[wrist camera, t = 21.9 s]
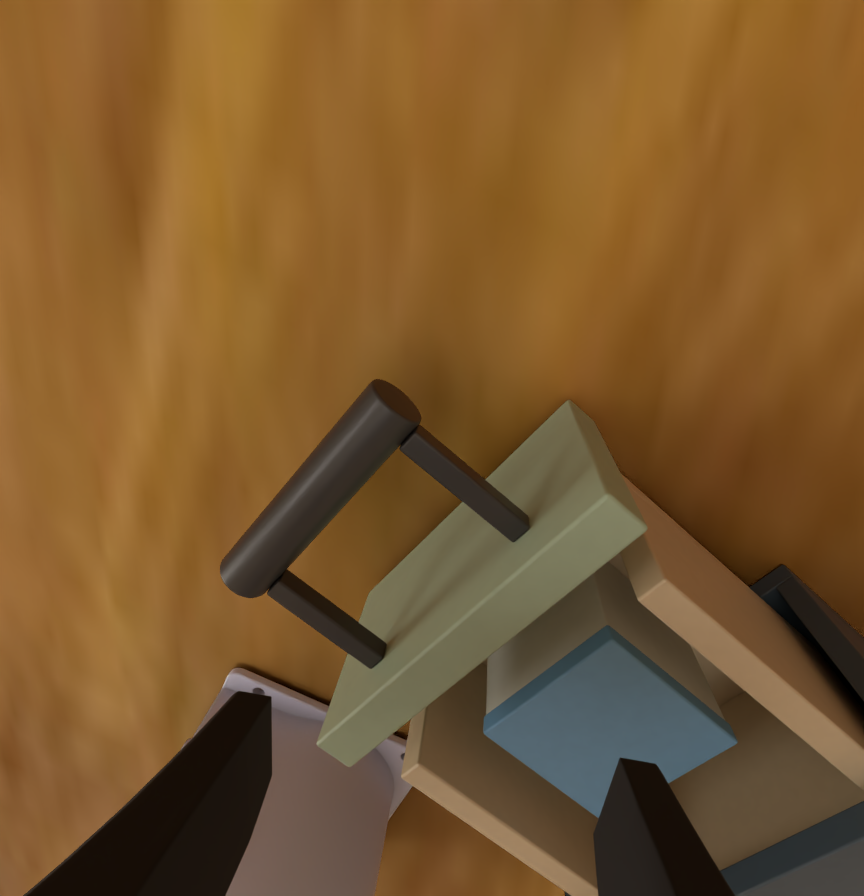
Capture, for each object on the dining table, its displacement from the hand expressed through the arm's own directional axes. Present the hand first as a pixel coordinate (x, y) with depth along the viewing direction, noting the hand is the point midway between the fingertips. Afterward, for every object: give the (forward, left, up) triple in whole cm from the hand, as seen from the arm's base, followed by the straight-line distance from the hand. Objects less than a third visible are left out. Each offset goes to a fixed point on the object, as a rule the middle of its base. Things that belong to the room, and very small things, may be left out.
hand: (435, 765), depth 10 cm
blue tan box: (+5, -1, -8) cm, 10 cm away
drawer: (+3, -1, -10) cm, 10 cm away
